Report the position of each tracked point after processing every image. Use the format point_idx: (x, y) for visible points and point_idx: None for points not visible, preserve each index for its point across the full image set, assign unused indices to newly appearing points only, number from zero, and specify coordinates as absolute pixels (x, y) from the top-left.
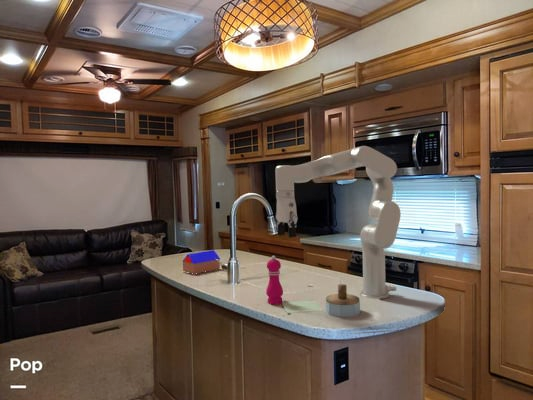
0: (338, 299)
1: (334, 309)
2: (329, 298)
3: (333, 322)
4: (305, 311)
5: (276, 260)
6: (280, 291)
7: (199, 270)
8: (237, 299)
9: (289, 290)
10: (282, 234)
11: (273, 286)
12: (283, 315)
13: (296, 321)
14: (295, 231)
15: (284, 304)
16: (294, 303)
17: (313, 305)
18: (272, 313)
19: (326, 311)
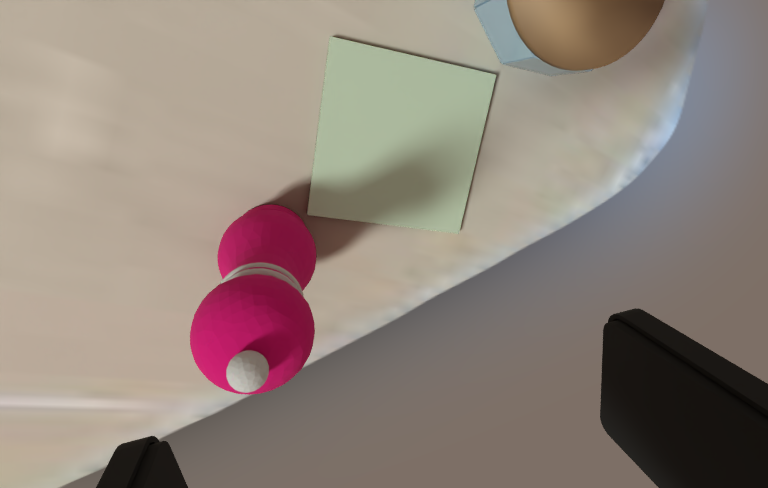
0: (601, 8)
1: None
2: (564, 45)
3: (614, 95)
4: (476, 157)
5: (279, 338)
6: (309, 237)
7: None
8: (163, 391)
9: (12, 81)
10: (179, 483)
11: (303, 284)
12: (462, 250)
13: (541, 224)
14: (729, 373)
15: (344, 213)
16: (346, 163)
17: (411, 84)
18: (422, 284)
19: (514, 65)
